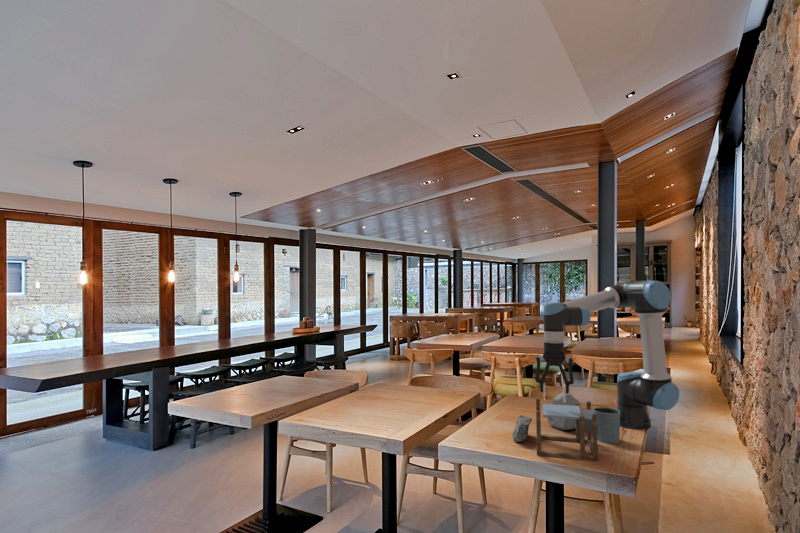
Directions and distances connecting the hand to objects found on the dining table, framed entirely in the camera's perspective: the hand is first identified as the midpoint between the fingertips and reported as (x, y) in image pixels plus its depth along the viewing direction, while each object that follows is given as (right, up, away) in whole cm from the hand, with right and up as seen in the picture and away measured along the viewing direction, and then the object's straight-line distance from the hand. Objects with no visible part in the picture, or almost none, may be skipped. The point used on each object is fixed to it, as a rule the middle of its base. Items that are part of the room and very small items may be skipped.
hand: (554, 401), depth 185 cm
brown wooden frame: (+4, -18, -2) cm, 18 cm away
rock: (-10, -19, +10) cm, 23 cm away
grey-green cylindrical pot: (+24, -18, +8) cm, 31 cm away
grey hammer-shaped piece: (+5, -9, -2) cm, 11 cm away
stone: (+13, -19, +25) cm, 34 cm away
